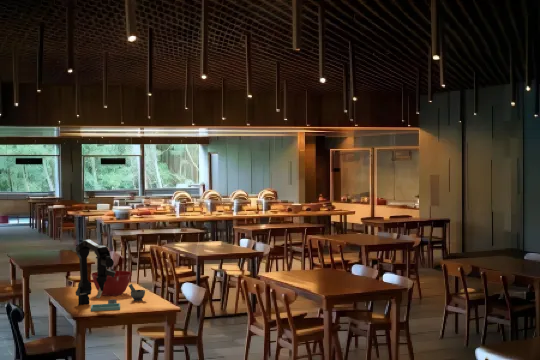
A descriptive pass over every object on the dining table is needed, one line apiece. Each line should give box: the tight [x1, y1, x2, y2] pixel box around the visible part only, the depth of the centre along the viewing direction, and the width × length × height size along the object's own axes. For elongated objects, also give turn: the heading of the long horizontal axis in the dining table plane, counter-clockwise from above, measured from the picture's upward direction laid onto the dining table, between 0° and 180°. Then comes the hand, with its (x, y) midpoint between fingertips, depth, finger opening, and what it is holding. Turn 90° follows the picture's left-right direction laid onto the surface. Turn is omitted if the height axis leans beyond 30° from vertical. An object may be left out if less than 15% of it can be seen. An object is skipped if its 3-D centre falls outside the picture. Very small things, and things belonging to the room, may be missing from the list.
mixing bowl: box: [90, 270, 133, 297], centre depth 508 cm, size 28×28×15 cm
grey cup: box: [107, 298, 118, 304], centre depth 464 cm, size 5×5×4 cm
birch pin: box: [95, 288, 102, 299], centre depth 453 cm, size 5×2×9 cm, turn 102°
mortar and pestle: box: [128, 283, 146, 302], centre depth 481 cm, size 11×9×12 cm
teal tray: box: [90, 302, 121, 312], centre depth 454 cm, size 18×12×2 cm, turn 102°
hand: (102, 290), depth 453 cm, fingers closed on birch pin, 2 cm apart
